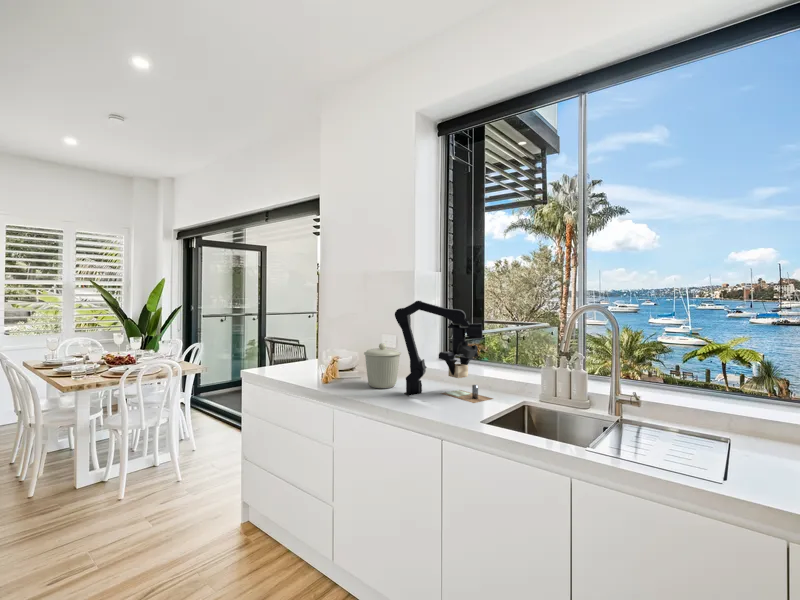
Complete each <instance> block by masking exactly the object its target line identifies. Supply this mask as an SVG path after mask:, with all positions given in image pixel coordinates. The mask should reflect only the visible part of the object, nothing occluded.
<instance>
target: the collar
mask: <svg viewBox="0 0 800 600" xmlns="http://www.w3.org/2000/svg"><path fill="white" fill-rule="evenodd" d="M448 377H451V378H455V379H462V378H468V377H469V364H468V365H464V364H461V363H455V372H454V375H452V374H451V372H450V369H449V368H448Z"/></svg>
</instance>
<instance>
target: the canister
mask: <svg viewBox="0 0 800 600" xmlns="http://www.w3.org/2000/svg"><path fill="white" fill-rule="evenodd" d="M401 354H402V352H401V351H399V350H397V349H395V348H387V345H386V343H383V342H381V343H379V344H378V348H370V349H367V350H366V351H364V352H363V355H365V357H364V358H365V366H366V367H365V368H366V376H367V382H368V385H369V386H370V387H371V388H375V389H390V388H393V387H394V386H395V385H396V384H397V380H398V373H399V365H400V355H401Z"/></svg>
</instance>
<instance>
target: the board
mask: <svg viewBox="0 0 800 600" xmlns="http://www.w3.org/2000/svg"><path fill="white" fill-rule="evenodd" d="M440 394H441V395H443V396H444V395H445V396H447V397H451V398H454V399H459V400H462V401H466V402H468V403H472V404H478V403H482V402H485V401H490V400H494V398H492V397H489V396H486V395H485V396H484V395H481V394H478V399H472V392H470V391H465V390H462V389H457V390H452V391H447V392H446V391H445V392H441V393H440Z"/></svg>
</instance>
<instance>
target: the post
mask: <svg viewBox="0 0 800 600" xmlns="http://www.w3.org/2000/svg"><path fill="white" fill-rule="evenodd" d="M471 386H472V389H471V393H472V399H478V395H479V385H478V384H472V385H471Z"/></svg>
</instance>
